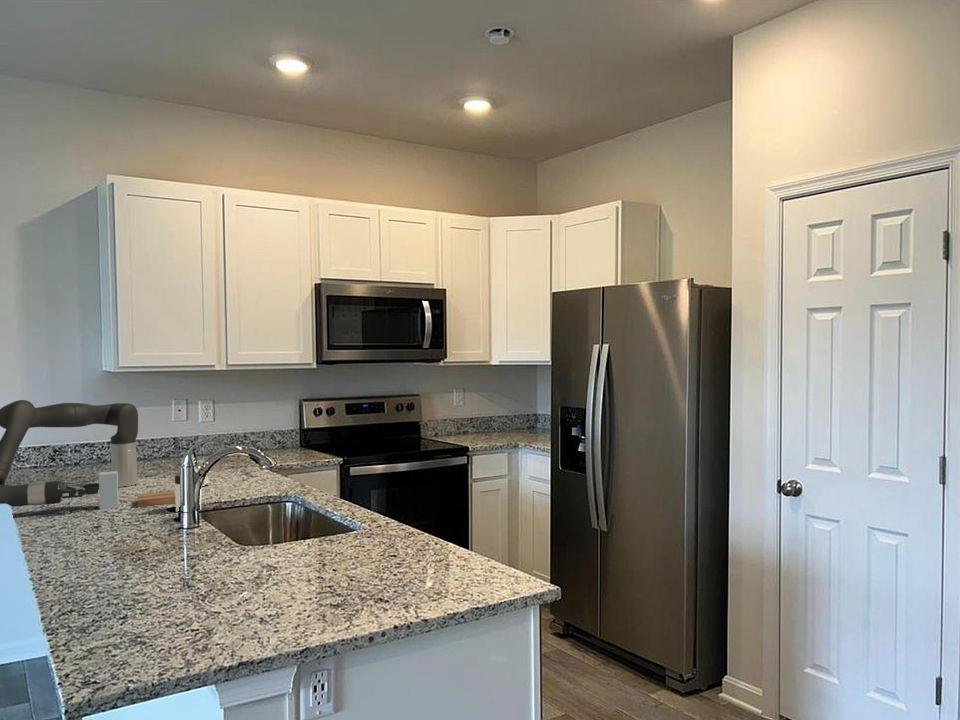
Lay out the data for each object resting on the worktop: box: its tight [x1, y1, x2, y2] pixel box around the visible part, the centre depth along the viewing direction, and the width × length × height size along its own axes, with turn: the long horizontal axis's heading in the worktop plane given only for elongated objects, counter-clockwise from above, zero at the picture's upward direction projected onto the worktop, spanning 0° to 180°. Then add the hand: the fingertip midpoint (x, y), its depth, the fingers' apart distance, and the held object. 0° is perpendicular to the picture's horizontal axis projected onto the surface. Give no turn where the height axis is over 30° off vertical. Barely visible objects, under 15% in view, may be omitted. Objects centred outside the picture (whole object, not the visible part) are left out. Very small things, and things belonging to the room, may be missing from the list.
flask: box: [196, 459, 211, 484], centre depth 285 cm, size 7×7×10 cm
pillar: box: [98, 470, 120, 510], centre depth 249 cm, size 6×6×12 cm
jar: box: [174, 473, 202, 513], centre depth 241 cm, size 9×8×12 cm
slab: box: [136, 490, 176, 508], centre depth 255 cm, size 12×12×3 cm
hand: (99, 488), depth 247 cm, fingers open, 8 cm apart
